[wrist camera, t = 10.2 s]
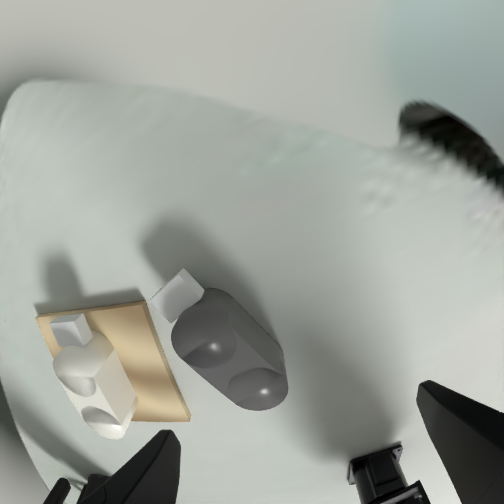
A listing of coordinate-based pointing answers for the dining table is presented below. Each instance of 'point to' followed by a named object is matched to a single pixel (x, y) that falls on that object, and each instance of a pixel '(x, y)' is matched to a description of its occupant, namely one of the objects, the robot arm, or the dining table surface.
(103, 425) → the white plug
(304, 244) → the dining table surface
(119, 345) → the coaster
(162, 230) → the dining table surface
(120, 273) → the dining table surface
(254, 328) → the black plug
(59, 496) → the milk frother
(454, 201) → the dining table surface
